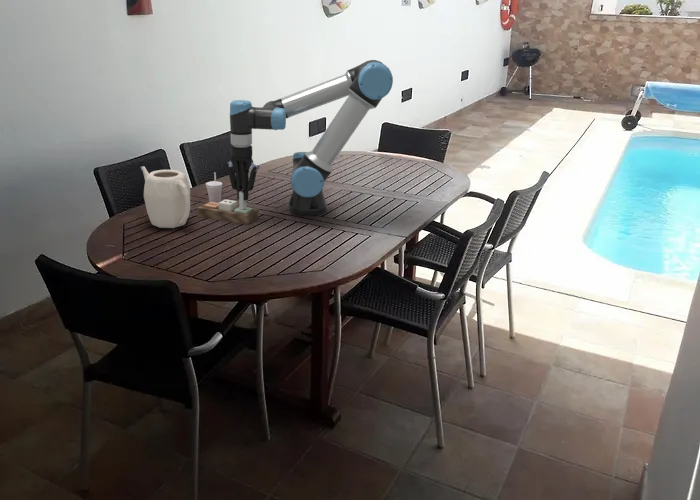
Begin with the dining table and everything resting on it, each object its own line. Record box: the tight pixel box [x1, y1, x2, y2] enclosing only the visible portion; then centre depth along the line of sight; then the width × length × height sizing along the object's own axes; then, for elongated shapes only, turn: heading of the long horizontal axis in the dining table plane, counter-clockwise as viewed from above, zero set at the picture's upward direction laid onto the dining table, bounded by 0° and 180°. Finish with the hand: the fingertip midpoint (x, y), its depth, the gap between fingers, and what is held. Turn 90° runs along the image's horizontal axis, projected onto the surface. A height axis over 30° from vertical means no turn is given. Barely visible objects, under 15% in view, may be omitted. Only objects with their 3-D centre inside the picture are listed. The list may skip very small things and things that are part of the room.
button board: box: [196, 201, 260, 226], centre depth 228 cm, size 21×9×4 cm, turn 70°
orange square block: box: [203, 201, 219, 209], centre depth 230 cm, size 5×5×4 cm
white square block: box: [218, 198, 238, 212], centre depth 227 cm, size 5×5×4 cm
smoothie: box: [205, 172, 223, 203], centre depth 237 cm, size 6×6×14 cm
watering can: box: [140, 166, 191, 229], centre depth 216 cm, size 16×27×19 cm, turn 52°
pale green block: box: [234, 206, 254, 214], centre depth 226 cm, size 5×5×4 cm
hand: (243, 208), depth 225 cm, fingers closed
